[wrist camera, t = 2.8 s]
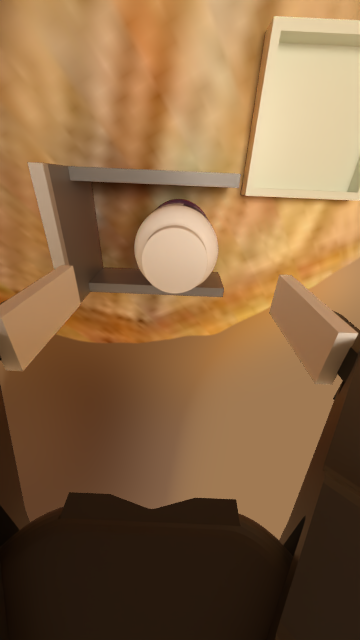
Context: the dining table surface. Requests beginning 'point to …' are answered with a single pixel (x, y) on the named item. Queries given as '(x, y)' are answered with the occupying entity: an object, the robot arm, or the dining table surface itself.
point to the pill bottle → (176, 247)
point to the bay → (81, 225)
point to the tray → (306, 112)
